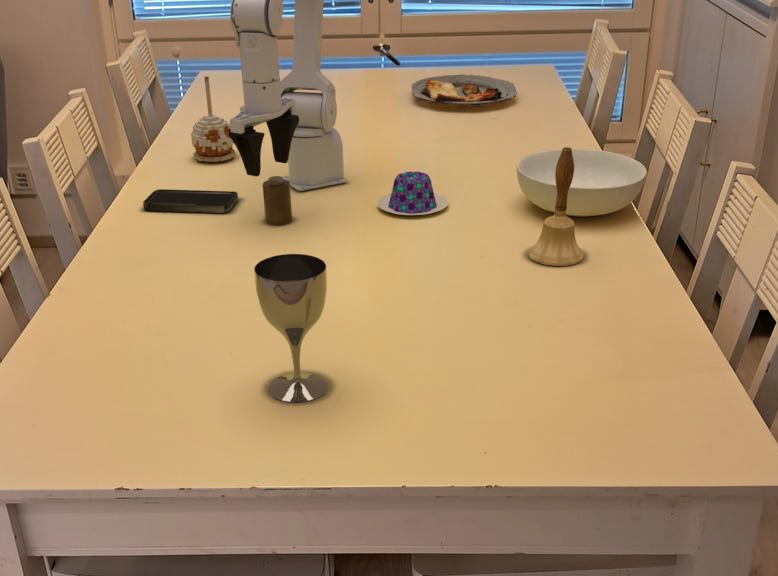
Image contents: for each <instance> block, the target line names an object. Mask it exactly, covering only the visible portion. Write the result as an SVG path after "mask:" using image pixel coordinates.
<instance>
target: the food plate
mask: <svg viewBox="0 0 778 576" xmlns="http://www.w3.org/2000/svg"><path fill="white" fill-rule="evenodd" d="M411 93H412V95H413V97H414V98H416V99H417V100H421V101H426V102H429V103H434V104H442V105H460V106H467V107H470V106H471V107H472V106H473V107H479V106H481V105H487V104H493V103H503V102H506V101H510V100H512V99H513V98H516V97H517V95H518V92H517V90H516V87H515V85H514V82H512V81H509V80H505V79H500V78H496V77H491V76H485V75H475V74H467V73H466V74H465V73H464V74H445V75H437V76H429V77H426V78H425V77H424V78H421V79H419V80H416V81H415V82H413V83H411Z"/></svg>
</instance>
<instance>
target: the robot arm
mask: <svg viewBox="0 0 778 576" xmlns="http://www.w3.org/2000/svg"><path fill="white" fill-rule="evenodd" d="M324 1H325V0H294V11H293V13H294V14H293V40H292V41H293V42H292V65H291V66H292V67H291V71H290V72H289V73H288V74H287V75H285V76H284V77H283V78H282V79H281V75H280V62H279V46H278V45H279V44H278V35H279V33H280V32H281V30H282V25H283V14H284V7H285V6H284V0H231V3H230V9H229V10H230V12H229V13H230V15H229V21H230V26H231V30H232V31H233V34H234V39H235V40H234V41H235V45H236V48H238V49H239V58H240V59H239V60H240V68H241V69H240V70H241V78H242V79H241V81H242V82H241V84H242V93H243V94H242V95H243V105H241V106H240V107H239V113H237V114H236V115H235V116H233V117H232V118H229V125H230V129H229V130H228V131H229V137H230V138H231V139H232V141H233V142H234V144H233V145H234V146H235V147H236V150H237V152H238V154H239V155H240V158H241V161H242V164H243V166H244V169H245V173H246V175H247V176H250V177H251V176H252V177H259V176H261V168H262V167H261V165H262V163H261V159H262V157H261V154H262V146H263V140H264V137H265V135H266V133H265V132H260V131H256V129H254V128H255V127H257V126H259V125H262V124H264V123H266V125H267V129H268V132H269V135H270V139H271V146H272V154H273V159H274V162H275V163H280V164H287V166H288V168H287V169H288V175H284V176H282V177H283V179H284V180H288V181H289V182H290V188H293V189H294V190H296V191H298V192H303V191H308V190H315V189H319V188H324V187H330V186H335V185H339V184H340V185H341V184H344V183H346V182H347V179H345V172H344V168H345V167H344V145H343V140H342V137H341V134H340V133H339V131H338V130H337V129H336V128H334V127H335V125H336V121H337V115H338V106H337V100H336V93H337V92H336V87H335V85H334V83H333V82H332V81H331V80H330V79H329V78H328V77H326V75H324V74H323V73H322V71H321V69H322V68H321V65H322V64H321V63H322V47H323V46H322V45H323V26H324V25H323V23H324ZM298 90H299V91H298ZM301 90H303V91H301ZM308 91H309V92H308ZM310 91H320V92H310Z"/></svg>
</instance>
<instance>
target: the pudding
mask: <svg viewBox="0 0 778 576" xmlns="http://www.w3.org/2000/svg"><path fill="white" fill-rule="evenodd" d="M376 205H377V207H378V208H379V209H380V210H383V211H384V212H387V213H391V214H396V215H402V216H403V215H404V216H422V215H428V214H429V215H430V214H432V213H437V212H441V211H442V210H444V209H445V208H447V207H448V205H449V200H448V199H447V198H446V196H443V195H441V194H438V193H435V192H434V188H433V183H432V179H431V177H430V175H429V174H428V173H426V172H421V171H404V172H400V173H398V174H397V175H396V176H395V178H394V180H393V185H392V190H391V192H390V193H388V194H385V195H383V196H381V197H380V198H379V199H377V201H376Z"/></svg>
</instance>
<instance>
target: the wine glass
mask: <svg viewBox="0 0 778 576" xmlns="http://www.w3.org/2000/svg"><path fill="white" fill-rule="evenodd" d="M253 269H254V270H253V272H254V282H255V290H256V291H255V292H256V295H257V300H258V303H259V306H260V309H261V313H262V315H263V317H264V318H265V320H266V321H267V322H268V323H269V325H271V326H272V327H273V328H274V329H275V330H276V331H277V332H279V333H280V334H281V335H282V336H283V337H284V339H285V340H286V342H287V344H288V346H289V348H290V354H291V359H292V366H293V372H292V373H287V374H284V375H281V376H279V377H276V378H274V379H273V380H272V381H270V383H269V385H268V387H267V392H268V394H269V395H270V396H271V397H272V398H274V399H276V400H278V401H281V402H286V403H305V402H310V401H314V400H316V399H319V398H321V397H322V396H323V395H325V394H326V393H327V391H328V389H329V384H328V382H327V380H326V379H324V377H321V376H320V375H317V374H313V373H307V372H301V349H302V343H303V341H304V339H305V337H306V336H307V334H308V333H309V332H310V331H311V329H312V328H314V326H315V325H316V324H317V323H318V321H319V320H320V318H321V317H322V315H323V312H324V310H325V305H326V300H327V299H326V297H327V290H328V275H327V274H328V273H327V271H328V270H327V263H326V262H325V261H324V260H323V259H321V258H319V257H317V256H314V255H309V254H302V253H285V254H278V255H272V256H271V257H267V258H264V259H262V260H260V261H259V262H258V263H256V265H255V266H254V268H253Z"/></svg>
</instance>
